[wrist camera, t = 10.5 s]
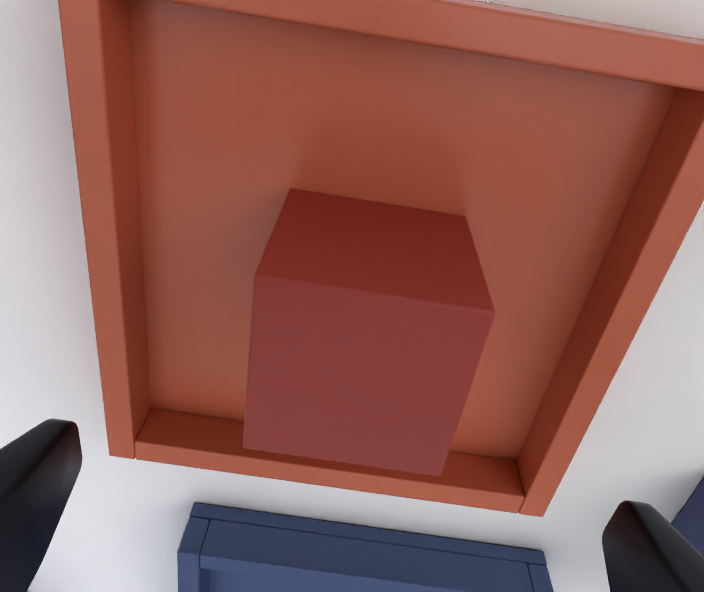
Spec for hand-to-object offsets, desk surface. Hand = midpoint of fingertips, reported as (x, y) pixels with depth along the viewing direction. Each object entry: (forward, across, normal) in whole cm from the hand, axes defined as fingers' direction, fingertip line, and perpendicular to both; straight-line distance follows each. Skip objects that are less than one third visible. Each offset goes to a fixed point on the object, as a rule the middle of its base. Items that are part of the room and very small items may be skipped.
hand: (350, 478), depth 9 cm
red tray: (+8, 0, 0) cm, 8 cm away
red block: (+7, 0, 0) cm, 7 cm away
